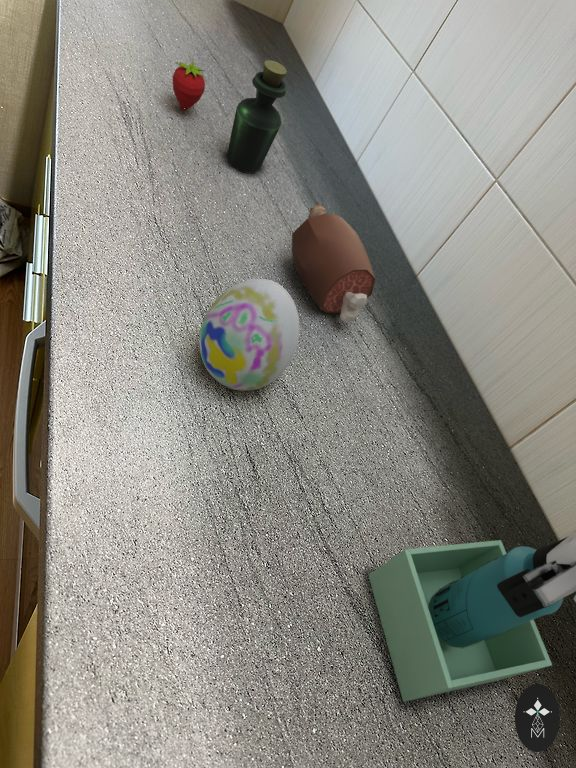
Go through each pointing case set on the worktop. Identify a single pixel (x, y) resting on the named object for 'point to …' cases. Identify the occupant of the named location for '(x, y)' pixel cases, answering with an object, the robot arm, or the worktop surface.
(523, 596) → the robot arm
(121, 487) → the worktop surface
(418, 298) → the worktop surface
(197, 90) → the strawberry
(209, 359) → the decorative egg
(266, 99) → the potion bottle
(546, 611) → the beverage bottle
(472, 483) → the worktop surface
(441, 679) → the bin
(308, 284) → the meat
